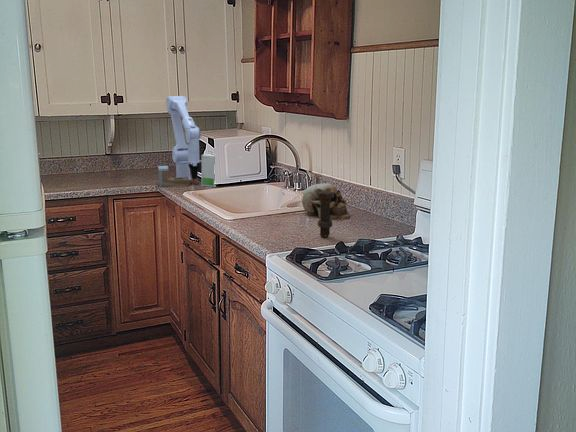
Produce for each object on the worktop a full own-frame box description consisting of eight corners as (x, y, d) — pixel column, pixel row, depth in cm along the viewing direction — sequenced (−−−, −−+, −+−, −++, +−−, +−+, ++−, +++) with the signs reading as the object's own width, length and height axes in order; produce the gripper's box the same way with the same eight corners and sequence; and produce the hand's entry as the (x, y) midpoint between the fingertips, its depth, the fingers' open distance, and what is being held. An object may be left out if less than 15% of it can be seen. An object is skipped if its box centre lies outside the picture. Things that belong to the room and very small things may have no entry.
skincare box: (201, 186, 298) (200, 154, 294) (208, 184, 303) (208, 153, 300) (215, 187, 294) (214, 155, 291) (222, 185, 300) (222, 154, 296)
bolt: (313, 237, 196) (314, 192, 193) (318, 234, 200) (319, 190, 197) (331, 239, 194) (331, 193, 191) (335, 235, 198) (336, 191, 195)
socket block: (162, 183, 305) (162, 177, 304) (188, 182, 308) (188, 177, 307) (162, 186, 296) (162, 180, 295) (189, 185, 298) (189, 179, 298)
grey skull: (351, 218, 224) (348, 183, 221) (305, 224, 223) (302, 188, 221) (345, 211, 239) (342, 178, 237) (302, 216, 239) (299, 183, 236)
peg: (191, 182, 308) (190, 167, 306) (197, 182, 309) (196, 167, 307) (191, 183, 305) (191, 168, 304) (197, 183, 306) (197, 167, 304)
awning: (159, 183, 305) (158, 166, 303) (168, 183, 306) (167, 165, 304) (159, 187, 295) (158, 168, 293) (169, 186, 296) (168, 168, 294)
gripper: (202, 153, 297) (203, 180, 300) (200, 150, 311) (201, 176, 314) (188, 153, 296) (189, 180, 299) (186, 150, 310) (187, 176, 313)
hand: (194, 178), depth 306 cm, fingers closed on peg, 3 cm apart
